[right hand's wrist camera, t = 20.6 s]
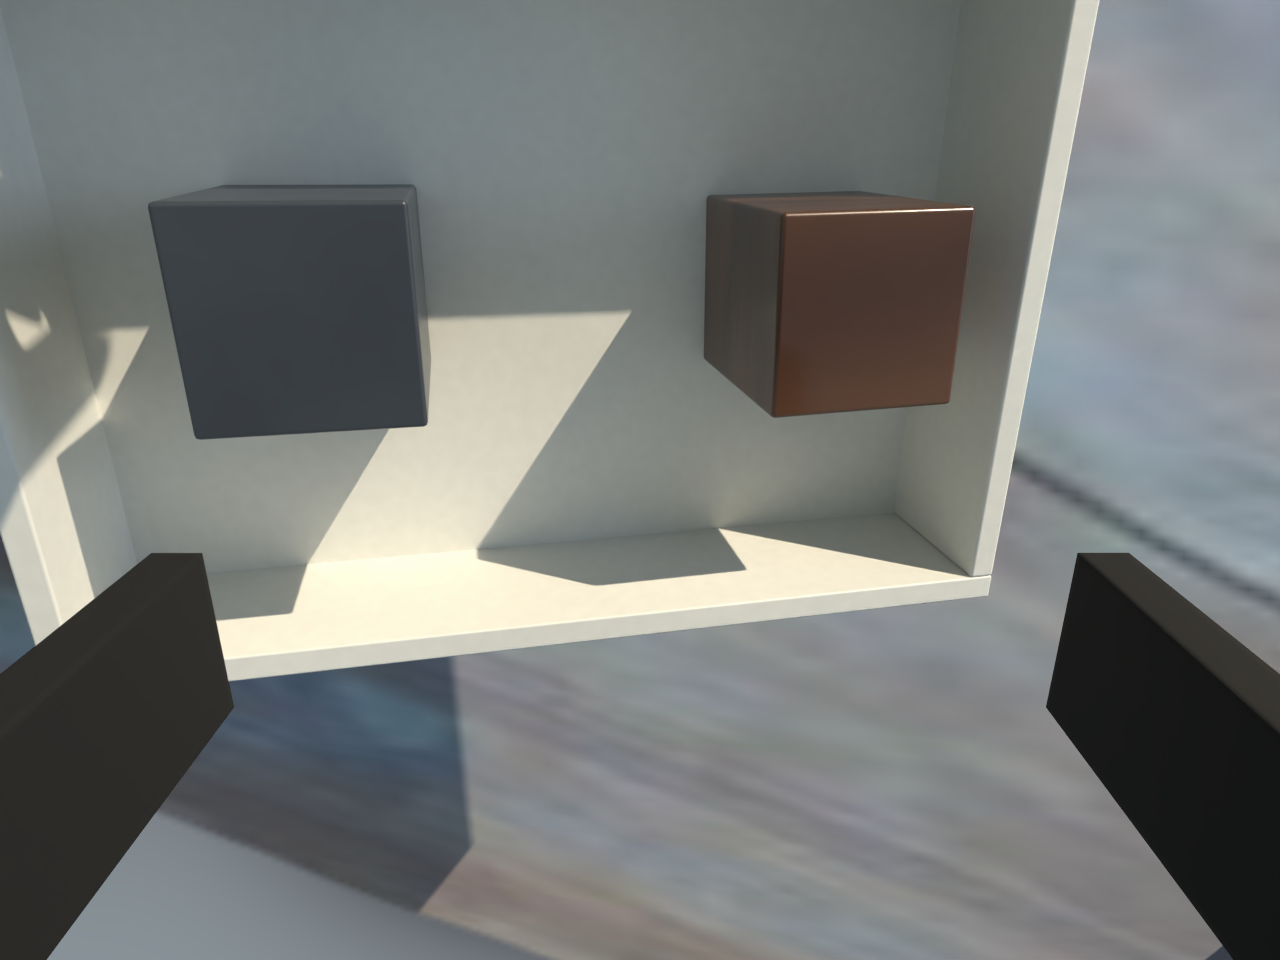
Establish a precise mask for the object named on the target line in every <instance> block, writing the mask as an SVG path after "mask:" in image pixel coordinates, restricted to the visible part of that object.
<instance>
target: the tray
mask: <svg viewBox="0 0 1280 960" xmlns="http://www.w3.org/2000/svg"><path fill="white" fill-rule="evenodd" d="M1098 5H1099V0H0V535H1V538H2V541H3V544H4V548H5V551H6V554H7V557H8V560H9V564H10V567H11V570H12V573H13V576H14V580H15V583H16V586H17V589H18V593H19V596H20V599H21V602H22V605H23V609H24V612H25V615H26V618H27V622H28V625H29V628H30V631H31V634H32V638H33V641H34V644H35V646H36V645H37V644H39V643H40V642H41V641H42V640H44V639H45V638H46V637H47V636H49V635H50V634H51V633H52V632H54V631H55V630H56V629H57V628H58V627H60V626H61V625H62V624H63V623H65V622H66V621H67V620H68V619H70V618H71V617H72V616H73V615H75V614H76V613H77V612H78V611H80V610H81V609H82V608H83V607H85V606H86V605H87V604H88V603H90V602H91V601H92V600H93V599H95V598H96V597H97V596H98V595H100V594H101V593H102V592H103V591H105V590H106V589H107V588H108V587H110V586H111V585H112V584H113V583H114V582H116V581H117V580H118V579H119V578H121V577H122V576H123V575H124V574H126V573H127V572H128V571H129V570H131V569H132V568H133V567H134V566H136V565H137V564H138V563H139V562H141V561H142V560H143V559H144V558H146V557H147V556H148V555H149V554H151V553H202V554H203V559H204V564H205V569H206V574H207V578H208V583H209V588H210V593H211V598H212V603H213V608H214V613H215V617H216V622H217V627H218V632H219V637H220V642H221V647H222V652H223V657H224V661H225V666H226V671H227V676H228V681H238V680H247V679H256V678H265V677H274V676H282V675H291V674H300V673H309V672H318V671H327V670H336V669H345V668H354V667H362V666H371V665H380V664H389V663H398V662H407V661H416V660H425V659H434V658H442V657H451V656H460V655H469V654H478V653H487V652H496V651H505V650H514V649H522V648H531V647H540V646H549V645H558V644H567V643H576V642H585V641H594V640H603V639H611V638H620V637H629V636H638V635H647V634H656V633H665V632H674V631H683V630H691V629H700V628H709V627H718V626H727V625H736V624H745V623H754V622H763V621H771V620H780V619H789V618H798V617H807V616H816V615H825V614H834V613H843V612H851V611H860V610H869V609H878V608H887V607H896V606H905V605H914V604H923V603H931V602H940V601H949V600H958V599H967V598H976V597H985V596H988V592H989V587H990V581H991V576H990V575H991V573H992V568H993V563H994V558H995V552H996V547H997V542H998V537H999V531H1000V526H1001V521H1002V515H1003V510H1004V505H1005V499H1006V494H1007V489H1008V483H1009V478H1010V473H1011V467H1012V462H1013V457H1014V451H1015V446H1016V441H1017V436H1018V430H1019V425H1020V420H1021V414H1022V409H1023V404H1024V398H1025V393H1026V388H1027V382H1028V377H1029V372H1030V366H1031V361H1032V356H1033V351H1034V345H1035V340H1036V335H1037V329H1038V324H1039V319H1040V313H1041V308H1042V303H1043V297H1044V292H1045V287H1046V281H1047V276H1048V271H1049V266H1050V260H1051V255H1052V250H1053V244H1054V239H1055V234H1056V228H1057V223H1058V218H1059V212H1060V207H1061V202H1062V196H1063V191H1064V186H1065V181H1066V175H1067V170H1068V165H1069V159H1070V154H1071V149H1072V143H1073V138H1074V133H1075V127H1076V122H1077V117H1078V111H1079V106H1080V101H1081V96H1082V90H1083V85H1084V80H1085V74H1086V69H1087V64H1088V58H1089V53H1090V48H1091V42H1092V37H1093V32H1094V26H1095V21H1096V16H1097V10H1098ZM368 184H412V185H415V187H416V192H417V203H418V214H419V226H420V237H421V248H422V260H423V271H424V283H425V294H426V305H427V317H428V328H429V340H430V351H431V373H430V392H429V412H428V423H427V425H426V426H424V427H409V428H392V429H375V430H358V431H341V432H324V433H307V434H290V435H273V436H256V437H239V438H222V439H205V440H199V439H196V438H195V436H194V432H193V427H192V422H191V417H190V412H189V407H188V402H187V397H186V392H185V388H184V383H183V378H182V373H181V368H180V363H179V358H178V353H177V348H176V343H175V339H174V334H173V329H172V324H171V319H170V314H169V309H168V304H167V299H166V294H165V289H164V285H163V280H162V275H161V270H160V265H159V260H158V255H157V250H156V245H155V240H154V236H153V231H152V226H151V221H150V216H149V211H148V204H149V203H150V202H153V201H157V200H161V199H165V198H170V197H174V196H178V195H183V194H187V193H191V192H196V191H200V190H204V189H209V188H213V187H217V186H222V185H368ZM841 191H863V192H871V193H878V194H886V195H893V196H900V197H908V198H915V199H922V200H930V201H937V202H944V203H952V204H959V205H967V206H972V207H974V208H975V219H974V226H973V233H972V241H971V248H970V256H969V263H968V270H967V278H966V285H965V293H964V300H963V307H962V315H961V322H960V330H959V337H958V344H957V352H956V359H955V367H954V374H953V381H952V389H951V396H950V401H949V403H947V404H939V405H927V406H915V407H902V408H890V409H878V410H866V411H853V412H841V413H829V414H817V415H804V416H792V417H780V418H773V417H771V416H770V415H769V414H768V413H766V412H765V411H764V410H763V409H762V408H761V407H759V406H758V405H757V404H756V403H755V402H754V401H752V400H751V399H750V398H749V397H748V396H747V395H745V394H744V393H743V392H742V391H741V390H740V389H739V388H737V387H736V386H735V385H734V384H733V383H732V382H730V381H729V380H728V379H727V378H726V377H725V376H723V375H722V374H721V373H720V372H719V371H718V370H716V369H715V368H714V367H713V366H712V365H711V364H709V363H708V362H707V361H706V360H705V359H704V315H705V259H706V204H707V197H708V196H710V195H731V194H768V193H804V192H841Z"/></svg>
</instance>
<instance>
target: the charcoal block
mask: <svg viewBox="0 0 1280 960" xmlns="http://www.w3.org/2000/svg"><path fill="white" fill-rule="evenodd" d="M148 211H149V216H150V221H151V226H152V231H153V236H154V240H155V245H156V250H157V255H158V260H159V265H160V270H161V275H162V280H163V285H164V289H165V294H166V299H167V304H168V309H169V314H170V319H171V324H172V329H173V334H174V339H175V343H176V348H177V353H178V358H179V363H180V368H181V373H182V378H183V383H184V388H185V392H186V397H187V402H188V407H189V412H190V417H191V422H192V427H193V432H194V436H195V438H196V439H199V440H205V439H222V438H239V437H256V436H273V435H290V434H307V433H324V432H341V431H358V430H375V429H392V428H409V427H424V426H426V425H427V423H428V412H429V392H430V373H431V351H430V340H429V328H428V317H427V305H426V294H425V283H424V271H423V260H422V248H421V237H420V226H419V214H418V203H417V192H416V187H415V185H412V184H368V185H222V186H217V187H213V188H209V189H204V190H200V191H196V192H191V193H187V194H183V195H178V196H174V197H170V198H165V199H161V200H157V201H153V202H150V203H149V204H148Z"/></svg>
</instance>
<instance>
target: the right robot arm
mask: <svg viewBox="0 0 1280 960" xmlns="http://www.w3.org/2000/svg"><path fill="white" fill-rule="evenodd" d="M233 708H234V705H233V700H232V696H231V691H230V686H229V681H228V676H227V671H226V666H225V661H224V657H223V652H222V647H221V642H220V637H219V632H218V627H217V622H216V617H215V613H214V608H213V603H212V598H211V593H210V588H209V583H208V578H207V574H206V569H205V564H204V559H203V554H202V553H151V554H149V555H148V556H147V557H146V558H144V559H143V560H142V561H141V562H139V563H138V564H137V565H136V566H134V567H133V568H132V569H131V570H129V571H128V572H127V573H126V574H124V575H123V576H122V577H121V578H119V579H118V580H117V581H116V582H114V583H113V584H112V585H111V586H110V587H108V588H107V589H106V590H105V591H103V592H102V593H101V594H100V595H98V596H97V597H96V598H95V599H93V600H92V601H91V602H90V603H88V604H87V605H86V606H85V607H83V608H82V609H81V610H80V611H78V612H77V613H76V614H75V615H73V616H72V617H71V618H70V619H68V620H67V621H66V622H65V623H63V624H62V625H61V626H60V627H58V628H57V629H56V630H55V631H54V632H52V633H51V634H50V635H49V636H47V637H46V638H45V639H44V640H42V641H41V642H40V643H39V644H37V645H36V646H35V647H34V648H32V649H31V650H30V651H29V652H27V653H26V654H25V655H24V656H22V657H21V658H20V659H19V660H17V661H16V662H15V663H14V664H12V665H11V666H10V667H9V668H7V669H6V670H5V671H4V672H2V673H1V674H0V960H47V958H48V957H49V955H50V954H51V953H52V951H53V950H54V949H55V947H56V946H57V945H58V943H59V942H60V941H61V939H62V938H63V937H64V935H65V934H66V933H67V931H68V930H69V929H70V927H71V926H72V925H73V923H74V922H75V921H76V919H77V918H78V916H79V915H80V914H81V912H82V911H83V910H84V908H85V907H86V906H87V904H88V903H89V902H90V900H91V899H92V898H93V896H94V895H95V893H96V892H97V891H98V890H99V888H100V887H101V885H102V884H103V883H104V881H105V880H106V879H107V877H108V876H109V875H110V873H111V872H112V871H113V869H114V868H115V867H116V865H117V864H118V863H119V861H120V860H121V859H122V857H123V856H124V854H125V853H126V852H127V850H128V849H129V848H130V846H131V845H132V844H133V842H134V841H135V840H136V838H137V837H138V836H139V834H140V833H141V832H142V830H143V829H144V828H145V826H146V825H147V824H148V822H149V821H150V819H151V818H152V817H153V815H154V814H155V813H156V811H157V810H158V809H159V807H160V806H161V805H162V803H163V802H164V801H165V799H166V798H167V797H168V795H169V794H170V793H171V791H172V790H173V789H174V787H175V786H176V784H177V783H178V782H179V780H180V779H181V778H182V776H183V775H184V774H185V772H186V771H187V770H188V768H189V767H190V766H191V764H192V763H193V762H194V760H195V759H196V758H197V756H198V755H199V753H200V752H201V751H202V749H203V748H204V747H205V745H206V744H207V743H208V741H209V740H210V739H211V737H212V736H213V735H214V733H215V732H216V731H217V729H218V728H219V727H220V725H221V724H222V723H223V721H224V720H225V718H226V717H227V716H228V714H229V713H230V712H231V710H232V709H233ZM1046 708H1047V709H1048V710H1049V712H1050V713H1051V714H1052V716H1053V717H1054V718H1055V720H1056V721H1057V723H1058V724H1059V725H1060V727H1061V728H1062V729H1063V731H1064V732H1065V733H1066V735H1067V736H1068V737H1069V739H1070V740H1071V741H1072V743H1073V744H1074V745H1075V747H1076V748H1077V749H1078V751H1079V752H1080V753H1081V755H1082V756H1083V758H1084V759H1085V760H1086V762H1087V763H1088V764H1089V766H1090V767H1091V768H1092V770H1093V771H1094V772H1095V774H1096V775H1097V776H1098V778H1099V779H1100V780H1101V782H1102V783H1103V784H1104V786H1105V787H1106V789H1107V790H1108V791H1109V793H1110V794H1111V795H1112V797H1113V798H1114V799H1115V801H1116V802H1117V803H1118V805H1119V806H1120V807H1121V809H1122V810H1123V811H1124V813H1125V814H1126V815H1127V817H1128V818H1129V819H1130V821H1131V822H1132V824H1133V825H1134V826H1135V828H1136V829H1137V830H1138V832H1139V833H1140V834H1141V836H1142V837H1143V838H1144V840H1145V841H1146V842H1147V844H1148V845H1149V846H1150V848H1151V849H1152V850H1153V852H1154V853H1155V855H1156V856H1157V857H1158V859H1159V860H1160V861H1161V863H1162V864H1163V865H1164V867H1165V868H1166V869H1167V871H1168V872H1169V873H1170V875H1171V876H1172V877H1173V879H1174V880H1175V881H1176V883H1177V884H1178V885H1179V887H1180V888H1181V890H1182V891H1183V892H1184V894H1185V895H1186V896H1187V898H1188V899H1189V900H1190V902H1191V903H1192V904H1193V906H1194V907H1195V908H1196V910H1197V911H1198V912H1199V914H1200V915H1201V916H1202V918H1203V919H1204V921H1205V922H1206V923H1207V925H1208V926H1209V927H1210V929H1211V930H1212V931H1213V933H1214V934H1215V935H1216V937H1217V938H1218V939H1219V941H1220V942H1221V943H1222V945H1223V946H1224V947H1225V949H1226V950H1227V951H1228V953H1229V954H1230V956H1231V957H1232V958H1233V960H1280V674H1279V673H1278V672H1276V671H1275V670H1274V669H1273V668H1271V667H1270V666H1269V665H1268V664H1266V663H1265V662H1264V661H1263V660H1261V659H1260V658H1259V657H1258V656H1256V655H1255V654H1254V653H1253V652H1251V651H1250V650H1249V649H1248V648H1246V647H1245V646H1244V645H1243V644H1241V643H1240V642H1239V641H1238V640H1236V639H1235V638H1234V637H1233V636H1231V635H1230V634H1229V633H1228V632H1226V631H1225V630H1224V629H1223V628H1222V627H1220V626H1219V625H1218V624H1217V623H1215V622H1214V621H1213V620H1212V619H1210V618H1209V617H1208V616H1207V615H1205V614H1204V613H1203V612H1202V611H1200V610H1199V609H1198V608H1197V607H1195V606H1194V605H1193V604H1192V603H1190V602H1189V601H1188V600H1187V599H1185V598H1184V597H1183V596H1182V595H1180V594H1179V593H1178V592H1177V591H1175V590H1174V589H1173V588H1172V587H1170V586H1169V585H1168V584H1167V583H1166V582H1164V581H1163V580H1162V579H1161V578H1159V577H1158V576H1157V575H1156V574H1154V573H1153V572H1152V571H1151V570H1149V569H1148V568H1147V567H1146V566H1144V565H1143V564H1142V563H1141V562H1139V561H1138V560H1137V559H1136V558H1134V557H1133V556H1132V555H1131V554H1129V553H1078V554H1077V559H1076V564H1075V569H1074V574H1073V578H1072V583H1071V588H1070V593H1069V598H1068V603H1067V608H1066V613H1065V617H1064V622H1063V627H1062V632H1061V637H1060V642H1059V647H1058V652H1057V657H1056V661H1055V666H1054V671H1053V676H1052V681H1051V686H1050V691H1049V696H1048V700H1047V705H1046Z"/></svg>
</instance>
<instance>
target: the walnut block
mask: <svg viewBox="0 0 1280 960" xmlns="http://www.w3.org/2000/svg"><path fill="white" fill-rule="evenodd" d="M974 219H975V208H974V207H972V206H967V205H959V204H952V203H944V202H937V201H930V200H922V199H915V198H908V197H900V196H893V195H886V194H878V193H871V192H863V191H841V192H804V193H768V194H731V195H710V196H708V197H707V204H706V259H705V315H704V359H705V360H706V361H707V362H708V363H709V364H711V365H712V366H713V367H714V368H715V369H716V370H718V371H719V372H720V373H721V374H722V375H723V376H725V377H726V378H727V379H728V380H729V381H730V382H732V383H733V384H734V385H735V386H736V387H737V388H739V389H740V390H741V391H742V392H743V393H744V394H745V395H747V396H748V397H749V398H750V399H751V400H752V401H754V402H755V403H756V404H757V405H758V406H759V407H761V408H762V409H763V410H764V411H765V412H766V413H768V414H769V415H770V416H771V417H773V418H780V417H792V416H804V415H817V414H829V413H841V412H853V411H866V410H878V409H890V408H902V407H915V406H927V405H939V404H947V403H949V401H950V396H951V389H952V381H953V374H954V367H955V359H956V352H957V344H958V337H959V330H960V322H961V315H962V307H963V300H964V293H965V285H966V278H967V270H968V263H969V256H970V248H971V241H972V233H973V226H974Z"/></svg>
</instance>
